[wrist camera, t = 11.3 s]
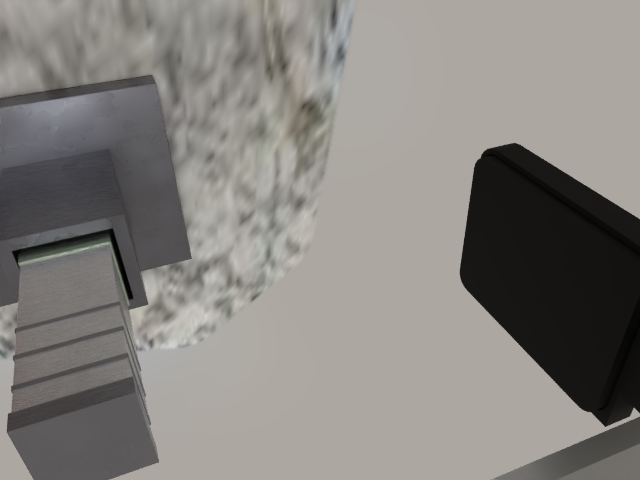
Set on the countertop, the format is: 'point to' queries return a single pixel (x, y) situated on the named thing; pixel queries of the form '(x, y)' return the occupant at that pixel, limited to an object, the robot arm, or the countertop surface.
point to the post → (77, 365)
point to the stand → (89, 178)
